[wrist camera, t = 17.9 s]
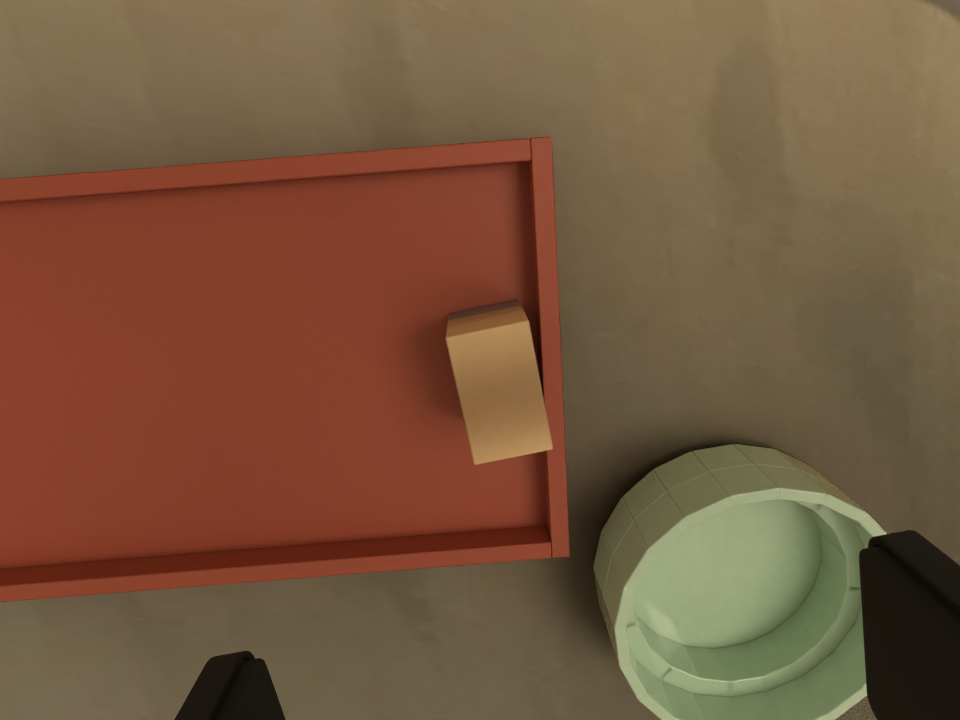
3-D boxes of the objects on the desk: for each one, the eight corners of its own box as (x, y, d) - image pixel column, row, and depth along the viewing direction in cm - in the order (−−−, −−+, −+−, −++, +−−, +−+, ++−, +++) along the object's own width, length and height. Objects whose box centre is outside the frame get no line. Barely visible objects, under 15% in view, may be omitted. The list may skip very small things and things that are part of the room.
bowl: (732, 387, 29) (787, 428, 24) (891, 551, 31) (969, 619, 26) (540, 560, 31) (554, 629, 26) (702, 702, 33) (743, 789, 28)
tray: (544, 140, 26) (552, 136, 24) (563, 532, 30) (570, 557, 28) (-296, 205, 26) (-361, 207, 24) (-150, 589, 30) (-194, 618, 28)
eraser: (447, 312, 27) (444, 337, 23) (518, 298, 27) (528, 320, 23) (472, 423, 28) (474, 466, 24) (539, 409, 28) (553, 450, 24)
